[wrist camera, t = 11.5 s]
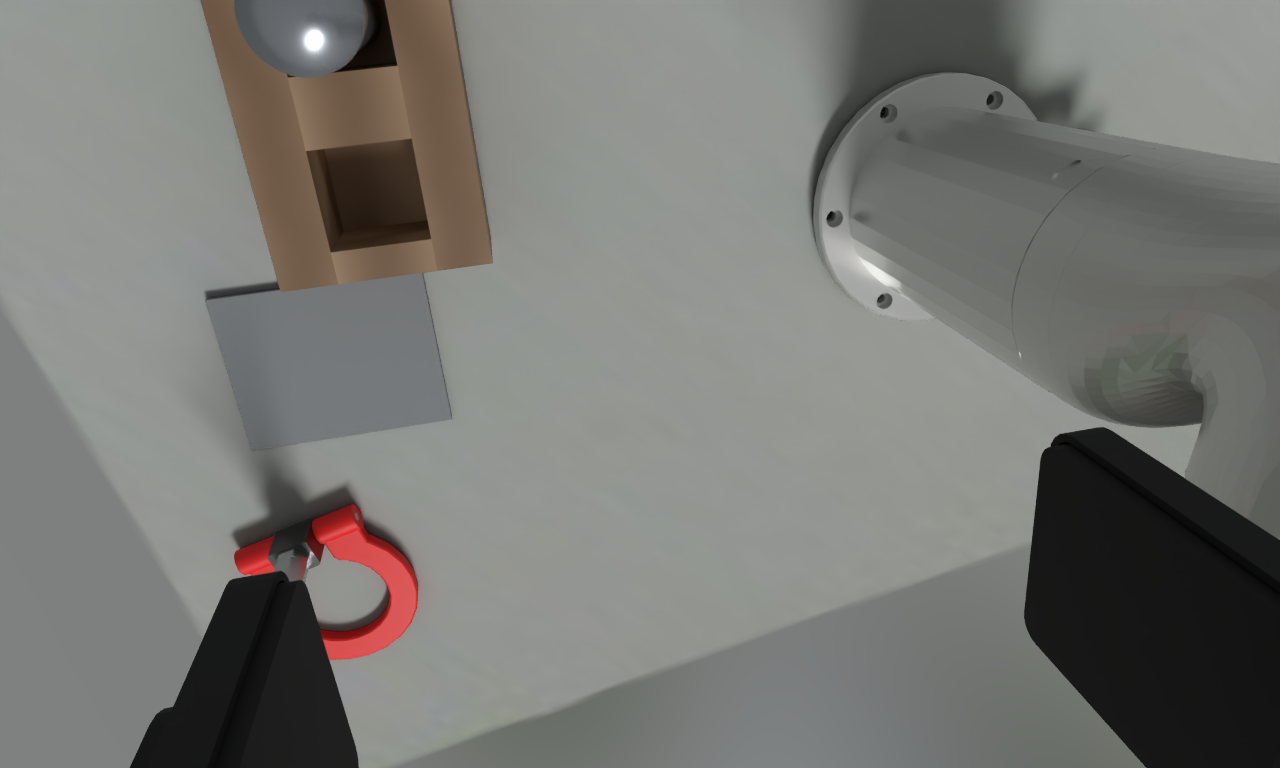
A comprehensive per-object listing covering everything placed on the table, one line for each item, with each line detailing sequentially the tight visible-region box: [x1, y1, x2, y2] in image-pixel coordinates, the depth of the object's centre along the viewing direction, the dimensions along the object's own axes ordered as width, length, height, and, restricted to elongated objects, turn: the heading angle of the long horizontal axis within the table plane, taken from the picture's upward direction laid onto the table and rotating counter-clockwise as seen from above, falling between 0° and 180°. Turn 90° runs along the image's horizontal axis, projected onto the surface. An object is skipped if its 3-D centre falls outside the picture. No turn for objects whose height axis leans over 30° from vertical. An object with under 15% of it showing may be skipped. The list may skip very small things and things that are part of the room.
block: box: [201, 0, 493, 292], centre depth 36 cm, size 9×14×4 cm, turn 5°
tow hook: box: [234, 504, 418, 660], centre depth 42 cm, size 8×13×9 cm
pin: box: [234, 0, 382, 78], centre depth 32 cm, size 4×4×11 cm
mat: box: [205, 273, 452, 451], centre depth 43 cm, size 10×8×1 cm
